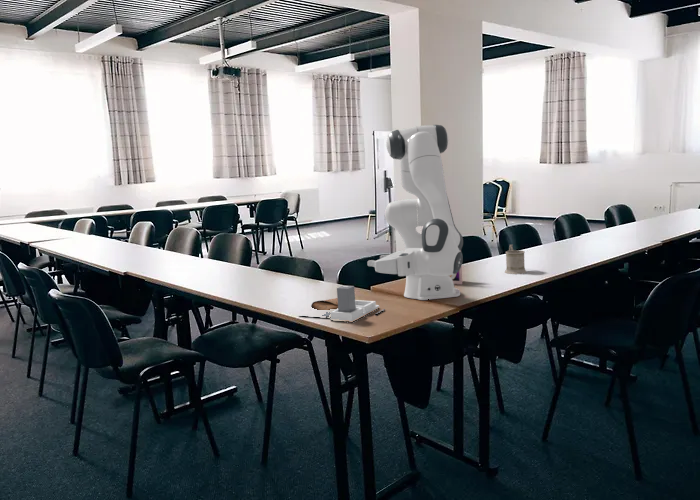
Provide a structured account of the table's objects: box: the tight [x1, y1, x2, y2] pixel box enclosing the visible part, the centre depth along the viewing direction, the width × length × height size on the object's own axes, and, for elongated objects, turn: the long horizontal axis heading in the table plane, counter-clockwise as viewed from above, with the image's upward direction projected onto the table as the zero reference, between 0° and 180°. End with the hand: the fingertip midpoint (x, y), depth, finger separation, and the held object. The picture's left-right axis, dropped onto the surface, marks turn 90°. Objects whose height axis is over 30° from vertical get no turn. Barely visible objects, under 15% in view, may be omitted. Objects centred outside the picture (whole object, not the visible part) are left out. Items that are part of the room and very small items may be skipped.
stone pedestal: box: [504, 244, 527, 275], centre depth 266 cm, size 14×10×12 cm
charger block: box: [336, 285, 356, 313], centre depth 200 cm, size 4×4×10 cm
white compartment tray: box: [329, 299, 380, 321], centre depth 206 cm, size 21×9×3 cm, turn 151°
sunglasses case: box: [310, 297, 338, 310], centre depth 217 cm, size 18×7×7 cm
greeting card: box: [448, 249, 463, 285], centre depth 250 cm, size 11×7×15 cm, turn 64°
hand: (374, 260), depth 192 cm, fingers open, 8 cm apart
